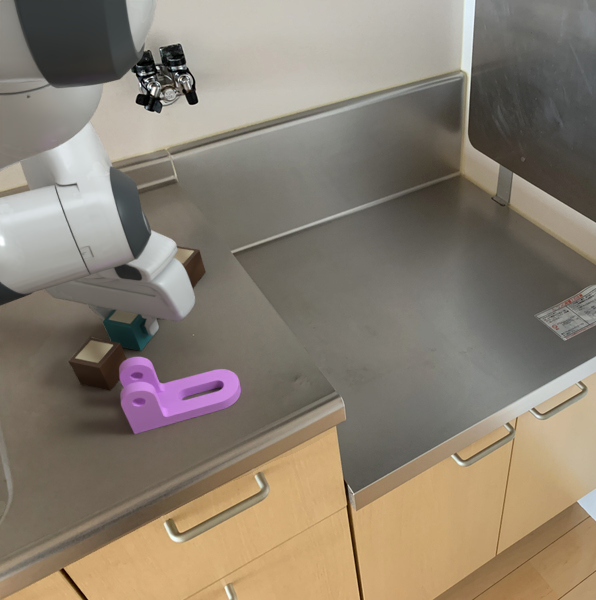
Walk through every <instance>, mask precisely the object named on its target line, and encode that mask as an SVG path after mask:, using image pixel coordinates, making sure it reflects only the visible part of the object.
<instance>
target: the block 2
mask: <svg viewBox="0 0 596 600" xmlns="http://www.w3.org/2000/svg"><path fill="white" fill-rule="evenodd" d="M174 258H176V259H177V260H178V261H179V262H180V263H181V264H182V265H183V266H184V268H185V270H186V272H187V275H188V277H189V280H190V282H191V285H192V288H193V289H194V287H195V286H196V285H197V284H198V283H199V282H200V280H201V279H202V278H203V276H204V275H205V274H206V269H205V265H204V261H203V258H202V254H201V250H200V249H197V248H191V247H185V246H179V245H177V253H176V255H175V256H174Z"/></svg>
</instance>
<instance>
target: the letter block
mask: <svg viewBox="0 0 596 600" xmlns="http://www.w3.org/2000/svg"><path fill="white" fill-rule="evenodd" d="M144 320H145V319H144V318H142V316H141V315H140V314H135V313H129V312H124V311H119V310H114V309H113V311H112V312H111V313H110V314H109V315H108V316H107V317H106V318H105V319H104V321H102V324H103V327H104V329H105V331H106V333H107V336H108V339H109V341H112V342H117V343H120V344H121V347H122V348H125V349H130V350H134V351H139V352H142V351H143V349H144V348H145V347H146V346H147V345H148V343H149V342H150V341H151V339H152V338H153V337H154V336H155V334H154V335H148V334H143V333H142V330H141V328H140V324H141V323H142V322H143V321H144ZM158 331H159V329H158V330H157V332H158Z"/></svg>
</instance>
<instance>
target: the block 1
mask: <svg viewBox="0 0 596 600" xmlns="http://www.w3.org/2000/svg"><path fill="white" fill-rule="evenodd" d="M127 359H128V358H127V356H126V354H125V351H124V349H123V347H121V344H120V343H117V342H112V341H111V340H107V339H103V338H102V339H101V338H98V337H97V338H96V337H92V336H89V338H88V339H87V340H86V341H85V342H84V343H83V344H82V345H81V347H79V349H78V350H77V351H76V352H75V353H74V354H73V355H72V356H71V357H70V358H69V360H68V363H69V365H70V368H71V370H72V371H73V373H74V375H75V377H76V379H77V381H78V382H79V384H80V385H82V386H85V387H90V388H94V389H99V390H103V391H108V392H111V391H112V390H113V388H114V387H116V386H117V385H116V384H118V382H119V381H120V376H119V367H120V365H121V363H122V362H123V361H125V360H127Z"/></svg>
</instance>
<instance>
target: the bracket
mask: <svg viewBox="0 0 596 600" xmlns="http://www.w3.org/2000/svg"><path fill="white" fill-rule="evenodd" d="M119 376H120V380H119V381H120V383H121V385H122V387H123V388H122V389H121V391H120V406H121V408H122V411H123V413H124V415H125V417H126V419H127V421H128V423H129V426H130V428H131V429H132V432H133V434H134V435H137V434H141V433H144V432H147V431H152V430H154V429H158V428H162V427H165V426H170V425H172V424H176V423H179V422H183V421H186V420H190V419H193V418H198V417H202V416H204V415H208V414H211V413H216V412H219V411H222V410H225V409H227V408H229V407H231V406H232V405H234V404H235V403H236V402H237V401H238V399H240V397H241V392H242V387H241V383H240V379H239V377H238V375H237V374H236V373H235V372H233V371H231V370H229V369H225V368H219V369H213V370H209V371H205V372H202V373H197V374H194V375H190V376H186V377H182V378H178V379H175V380H172V381H168V382H163V383H162V382H160V380H159V377H158V375H157V372H156V370H155V367H154V365H153V362H152V361H151V360H150V359H148V358H146V357H144V356H132V357H129V358H127V360H125V361H123V362H122V363H121V365H120V367H119ZM220 388H221V389H220ZM215 389H220V390H216V391H214V392H210V393H206V394H203V395H199V396H195V397H192V398H188V399H185V398H186V397H190V396H193V395H197V394H200V393H204V392H208V391H212V390H215Z"/></svg>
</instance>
